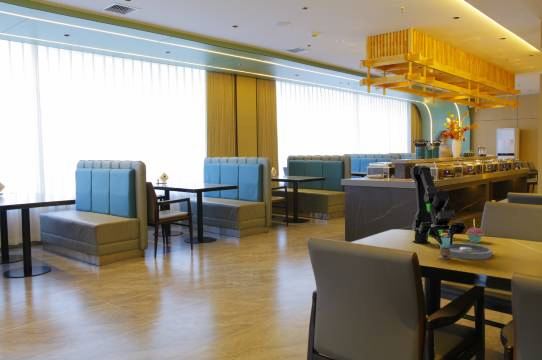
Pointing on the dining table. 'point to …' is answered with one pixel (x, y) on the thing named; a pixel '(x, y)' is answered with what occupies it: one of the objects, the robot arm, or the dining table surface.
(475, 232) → the cupcake
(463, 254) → the groove tray
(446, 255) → the bead stack
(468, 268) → the dining table surface
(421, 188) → the robot arm
